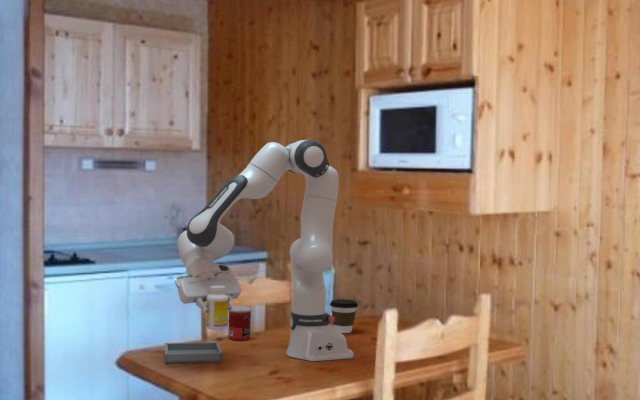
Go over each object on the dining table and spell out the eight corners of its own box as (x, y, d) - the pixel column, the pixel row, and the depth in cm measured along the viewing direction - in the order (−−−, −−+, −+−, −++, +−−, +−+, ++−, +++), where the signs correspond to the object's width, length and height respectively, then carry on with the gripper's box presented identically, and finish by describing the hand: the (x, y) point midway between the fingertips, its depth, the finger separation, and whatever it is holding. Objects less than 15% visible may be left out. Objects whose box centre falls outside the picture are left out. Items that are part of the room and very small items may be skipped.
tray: (217, 351, 251) (218, 342, 251) (222, 362, 235) (222, 353, 235) (164, 352, 247) (164, 343, 247) (165, 364, 232) (165, 354, 232)
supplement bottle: (232, 327, 229) (233, 286, 228) (219, 331, 223) (220, 288, 223) (214, 325, 232) (215, 284, 232) (201, 328, 226) (202, 286, 226)
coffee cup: (362, 332, 288) (363, 301, 287) (344, 336, 280) (346, 305, 279) (341, 328, 295) (342, 298, 295) (323, 332, 287) (324, 301, 286)
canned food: (246, 341, 266) (247, 311, 266) (225, 340, 267) (226, 309, 267) (252, 337, 273) (253, 307, 273) (231, 335, 275) (232, 306, 275)
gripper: (176, 270, 226) (191, 307, 219) (234, 266, 238) (250, 301, 231) (169, 283, 230) (183, 320, 222) (227, 278, 242) (242, 313, 235)
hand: (218, 310), depth 227 cm, fingers closed on supplement bottle, 7 cm apart
